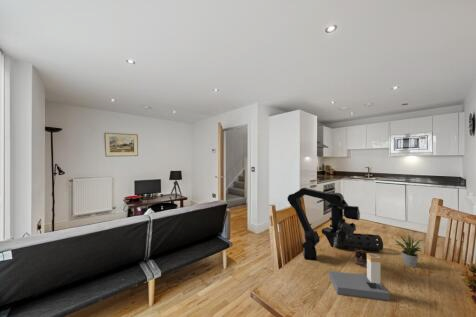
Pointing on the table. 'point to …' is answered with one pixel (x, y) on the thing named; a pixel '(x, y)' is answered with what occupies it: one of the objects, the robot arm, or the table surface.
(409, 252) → the house plant
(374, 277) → the plug
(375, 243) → the muzzle brake
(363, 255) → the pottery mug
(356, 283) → the socket block
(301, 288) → the table surface
